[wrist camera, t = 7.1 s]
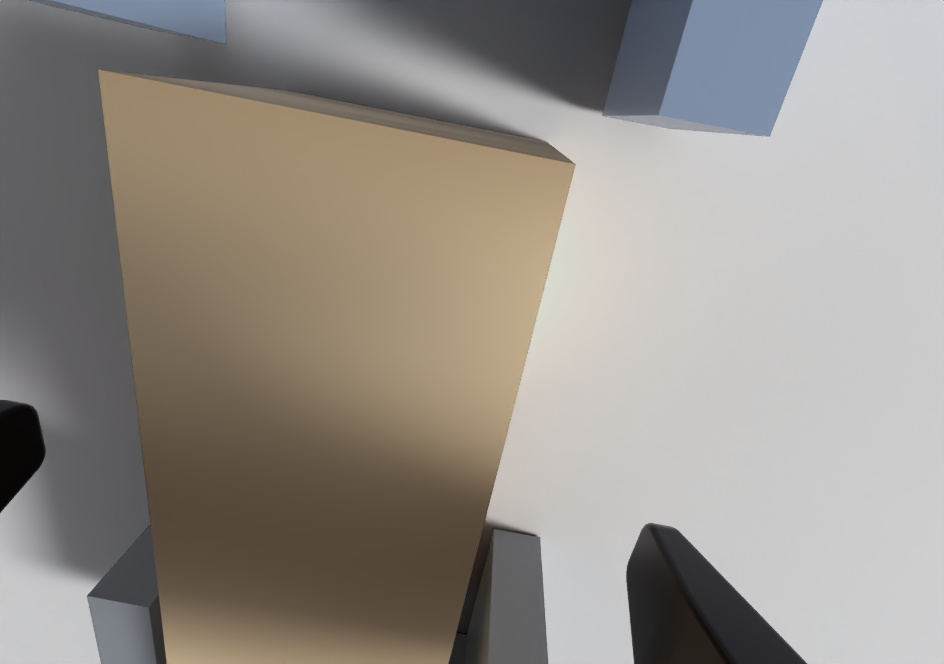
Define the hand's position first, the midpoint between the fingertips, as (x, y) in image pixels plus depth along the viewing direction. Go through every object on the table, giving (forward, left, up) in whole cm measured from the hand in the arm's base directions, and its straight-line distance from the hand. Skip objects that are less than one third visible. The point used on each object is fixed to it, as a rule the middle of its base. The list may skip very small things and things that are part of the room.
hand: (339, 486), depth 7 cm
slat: (0, 0, -3) cm, 3 cm away
